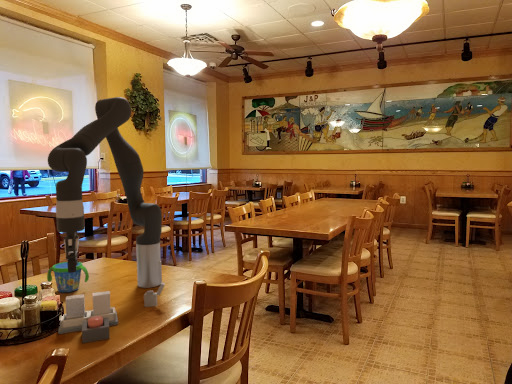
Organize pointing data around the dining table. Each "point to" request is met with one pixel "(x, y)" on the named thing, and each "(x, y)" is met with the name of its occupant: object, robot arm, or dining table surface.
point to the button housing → (95, 332)
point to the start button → (95, 321)
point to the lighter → (152, 296)
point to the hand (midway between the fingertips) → (73, 268)
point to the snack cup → (67, 276)
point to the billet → (75, 307)
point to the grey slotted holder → (91, 314)
